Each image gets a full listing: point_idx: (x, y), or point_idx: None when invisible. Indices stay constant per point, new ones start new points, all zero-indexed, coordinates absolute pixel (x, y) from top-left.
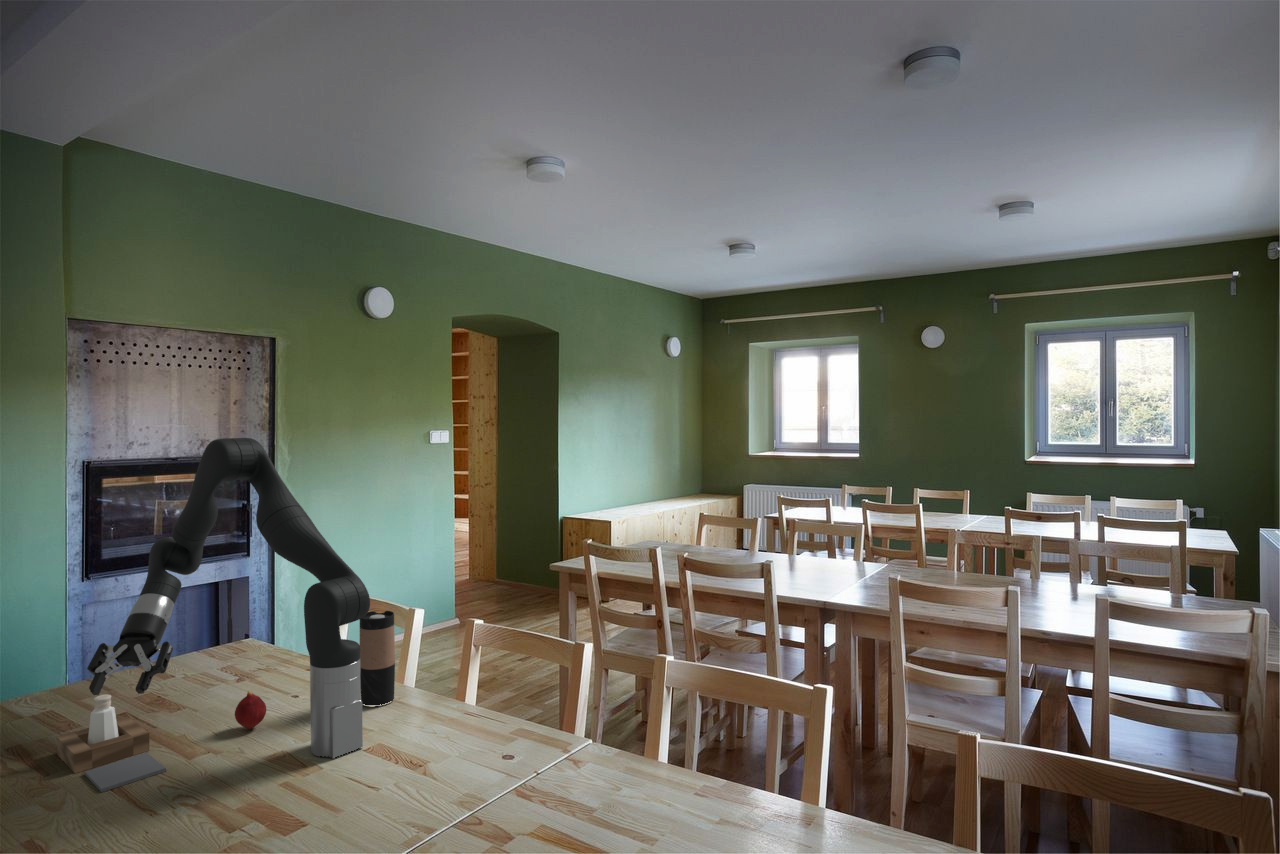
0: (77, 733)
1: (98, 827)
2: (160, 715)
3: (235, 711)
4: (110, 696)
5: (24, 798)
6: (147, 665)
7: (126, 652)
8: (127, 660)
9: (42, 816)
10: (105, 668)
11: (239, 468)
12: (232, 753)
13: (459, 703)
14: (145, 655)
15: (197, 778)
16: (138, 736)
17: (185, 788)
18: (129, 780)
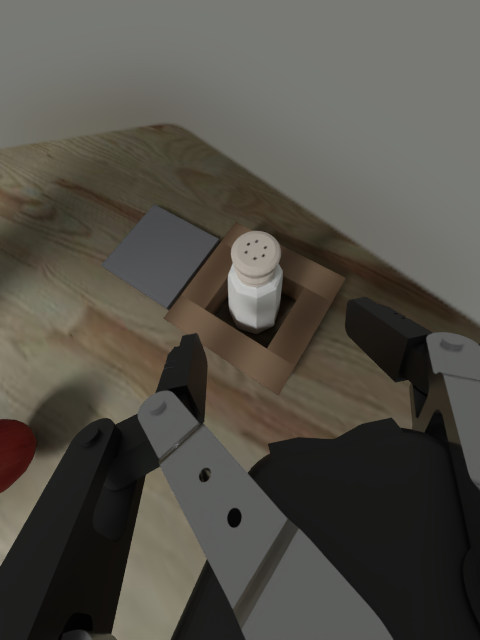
0: (316, 296)
1: (105, 153)
2: None
3: (4, 436)
4: (234, 261)
5: (245, 183)
6: (162, 425)
7: (451, 545)
8: (337, 442)
9: (185, 159)
10: (427, 364)
11: None
12: (29, 335)
13: None
14: (182, 507)
15: (48, 256)
16: (175, 302)
17: (52, 232)
18: (133, 229)
